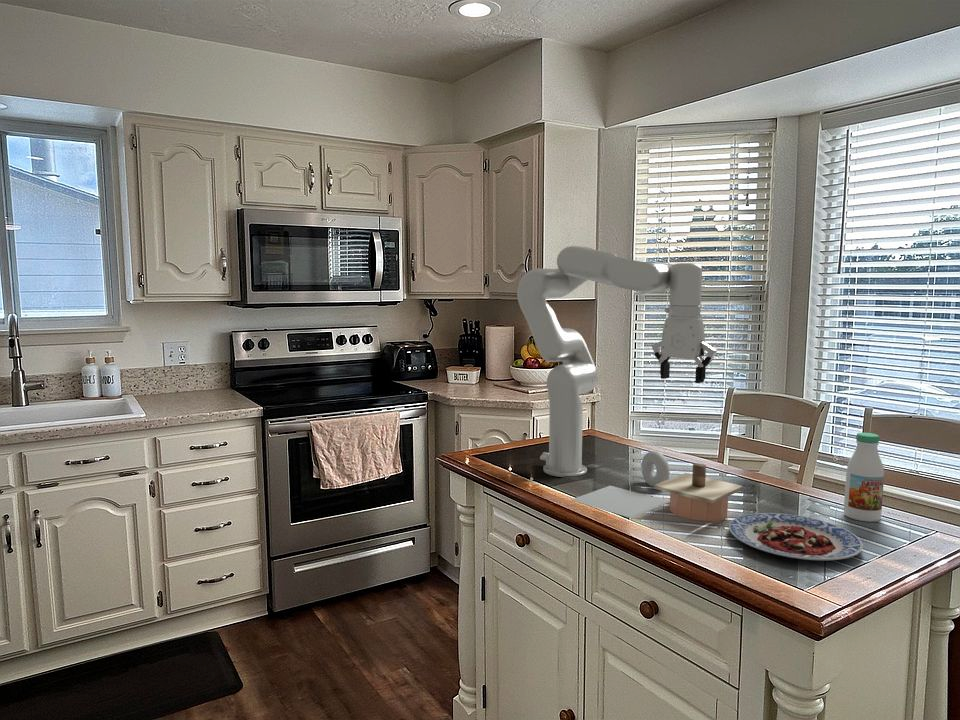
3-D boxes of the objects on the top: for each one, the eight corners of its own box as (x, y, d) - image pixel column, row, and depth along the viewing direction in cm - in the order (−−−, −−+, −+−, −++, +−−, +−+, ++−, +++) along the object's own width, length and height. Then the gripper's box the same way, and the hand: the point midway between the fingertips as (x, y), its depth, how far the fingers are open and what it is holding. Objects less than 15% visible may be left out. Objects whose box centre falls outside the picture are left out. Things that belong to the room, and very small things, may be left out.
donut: (671, 492, 175) (673, 455, 174) (661, 493, 174) (662, 456, 173) (648, 481, 185) (649, 446, 183) (637, 483, 183) (639, 447, 182)
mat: (570, 502, 167) (570, 499, 167) (610, 487, 179) (610, 485, 179) (631, 520, 154) (631, 518, 154) (670, 503, 166) (670, 501, 166)
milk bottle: (835, 513, 159) (841, 432, 157) (858, 509, 162) (864, 429, 160) (865, 524, 152) (872, 439, 150) (888, 520, 155) (895, 436, 153)
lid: (653, 488, 159) (654, 464, 158) (685, 475, 169) (686, 453, 169) (712, 503, 148) (714, 478, 148) (743, 489, 159) (744, 465, 158)
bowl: (659, 512, 160) (660, 488, 159) (686, 500, 169) (687, 477, 168) (710, 527, 150) (711, 501, 150) (736, 513, 159) (737, 489, 159)
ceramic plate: (893, 560, 133) (894, 546, 133) (786, 576, 126) (787, 561, 125) (798, 517, 158) (798, 505, 157) (704, 528, 150) (704, 515, 150)
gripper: (646, 312, 170) (644, 378, 172) (709, 314, 158) (706, 385, 160) (662, 311, 175) (659, 375, 177) (724, 313, 163) (721, 382, 165)
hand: (682, 380), depth 169 cm, fingers open, 9 cm apart
